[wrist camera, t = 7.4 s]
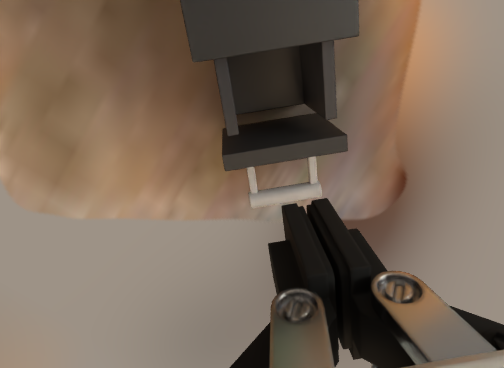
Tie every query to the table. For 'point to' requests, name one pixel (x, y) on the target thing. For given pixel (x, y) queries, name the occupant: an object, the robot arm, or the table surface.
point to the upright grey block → (264, 25)
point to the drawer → (282, 130)
